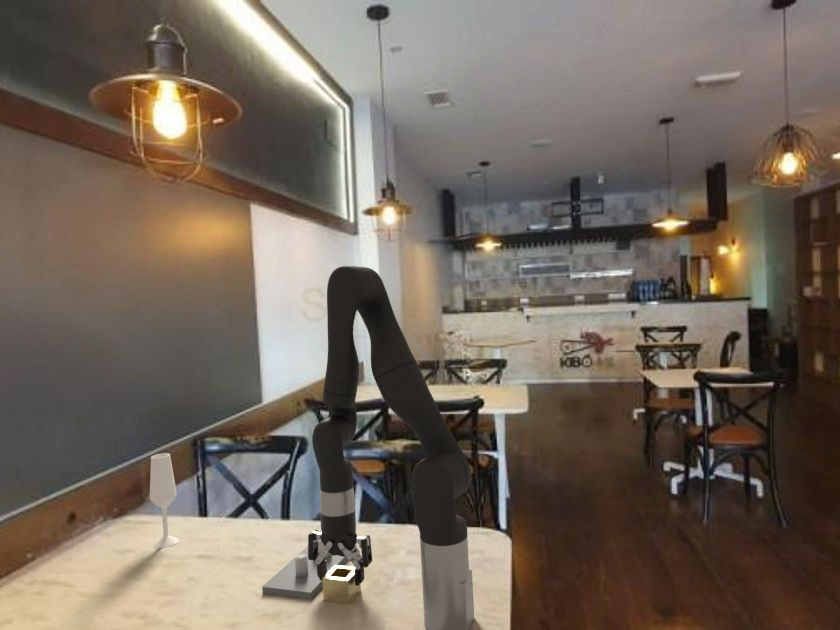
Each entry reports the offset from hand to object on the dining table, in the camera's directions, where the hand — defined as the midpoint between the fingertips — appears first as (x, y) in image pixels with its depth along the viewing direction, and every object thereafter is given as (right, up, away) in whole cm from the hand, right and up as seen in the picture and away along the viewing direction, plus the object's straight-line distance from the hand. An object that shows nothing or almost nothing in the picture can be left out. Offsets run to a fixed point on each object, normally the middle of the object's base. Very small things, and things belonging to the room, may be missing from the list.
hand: (340, 581), depth 125 cm
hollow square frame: (0, -3, 0) cm, 3 cm away
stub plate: (-8, -3, +12) cm, 15 cm away
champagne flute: (-52, -5, +32) cm, 61 cm away
